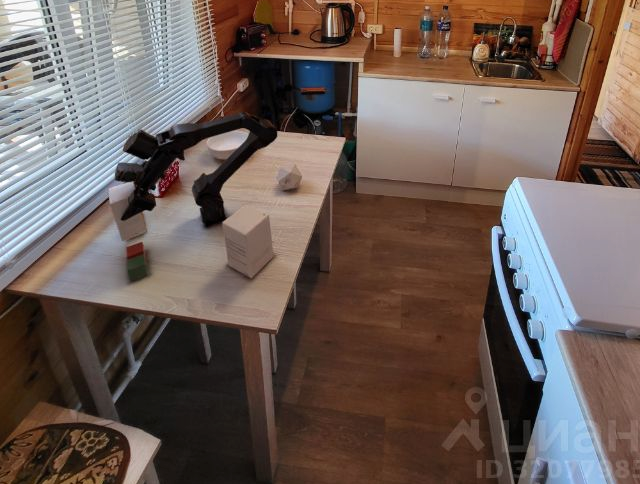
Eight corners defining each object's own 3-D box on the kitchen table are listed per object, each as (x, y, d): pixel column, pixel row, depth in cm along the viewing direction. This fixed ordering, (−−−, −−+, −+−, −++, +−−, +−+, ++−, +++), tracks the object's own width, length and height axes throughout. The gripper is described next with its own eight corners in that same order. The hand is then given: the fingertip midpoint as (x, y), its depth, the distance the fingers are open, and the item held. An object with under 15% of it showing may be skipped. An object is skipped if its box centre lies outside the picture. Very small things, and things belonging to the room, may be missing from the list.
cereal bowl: (244, 166, 149) (242, 150, 147) (202, 165, 150) (199, 150, 147) (255, 144, 165) (254, 129, 163) (217, 143, 165) (215, 129, 163)
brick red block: (145, 252, 109) (142, 241, 107) (146, 261, 105) (143, 250, 104) (129, 258, 107) (126, 247, 105) (129, 268, 104) (126, 256, 102)
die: (272, 188, 138) (273, 179, 130) (283, 166, 143) (284, 156, 135) (293, 197, 138) (295, 189, 129) (304, 175, 143) (306, 166, 135)
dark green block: (146, 265, 104) (143, 253, 103) (147, 275, 101) (144, 264, 100) (129, 271, 103) (126, 259, 101) (130, 282, 99) (127, 270, 98)
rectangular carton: (251, 244, 112) (246, 202, 107) (274, 256, 108) (270, 213, 102) (227, 265, 105) (220, 222, 99) (250, 279, 100) (245, 235, 95)
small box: (147, 232, 107) (136, 195, 102) (122, 242, 104) (108, 204, 99) (144, 215, 114) (133, 179, 109) (120, 224, 110) (107, 188, 106)
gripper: (128, 138, 110) (93, 182, 108) (131, 170, 95) (90, 222, 94) (164, 154, 116) (130, 196, 115) (172, 186, 102) (134, 234, 100)
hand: (121, 210), depth 106 cm, fingers closed on small box, 8 cm apart
